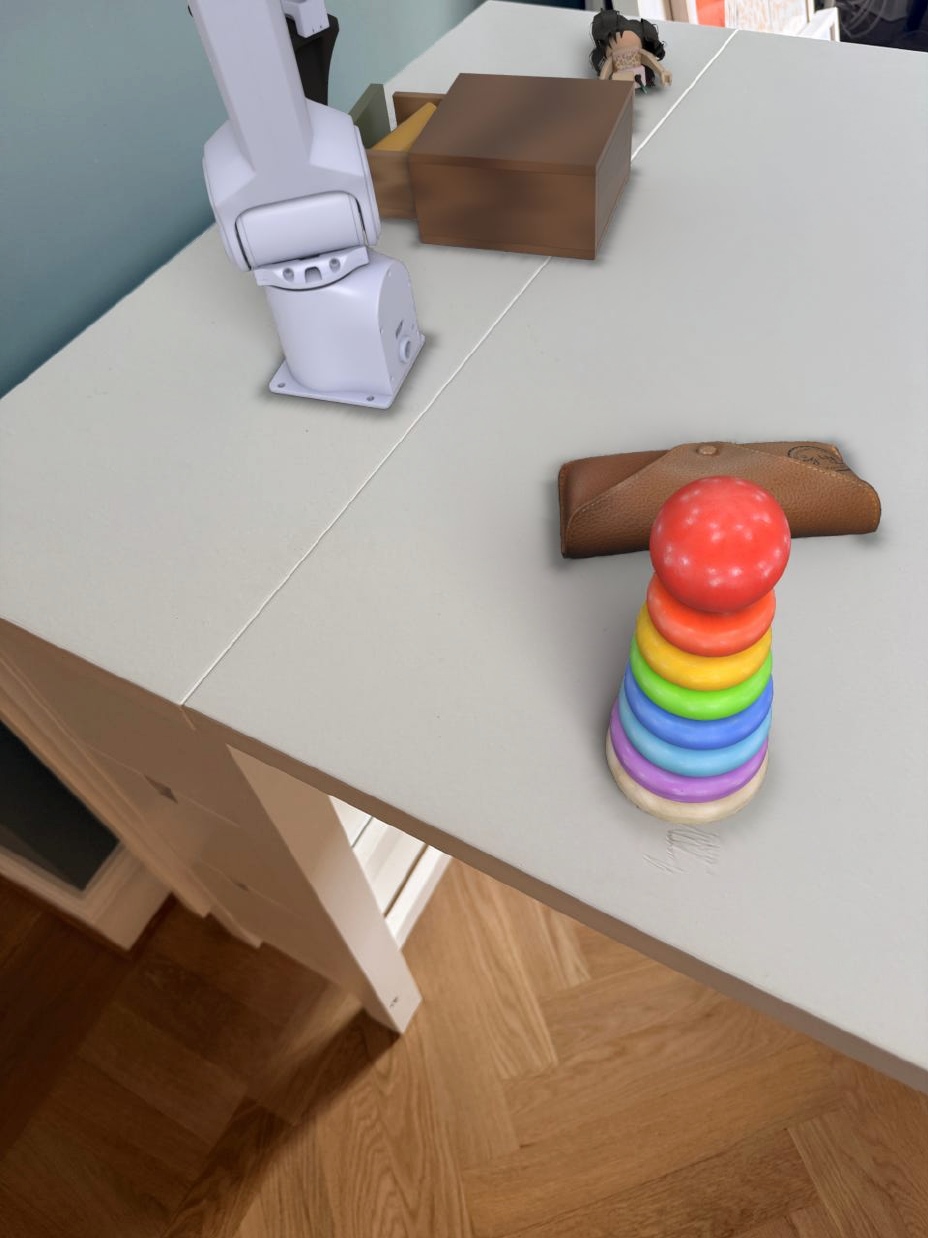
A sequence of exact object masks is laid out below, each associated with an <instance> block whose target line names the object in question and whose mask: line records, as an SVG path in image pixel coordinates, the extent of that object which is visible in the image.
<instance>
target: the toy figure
mask: <svg viewBox="0 0 928 1238" xmlns="http://www.w3.org/2000/svg"><path fill="white" fill-rule="evenodd" d="M599 9H600V11H599V12H598V13H597V14H595V15H594V16H593V19H592V21H591V23H590V25H589V27H591V30H589V37H590V39H591V41H592V44H593V46H594V47H593V50H592V51H591V52H590V54H589V55H588V58H591V59H588V61H589V64H590V65H591V69H594V70H595V72H596V77H598V79H606V80H628V81H634V100H633V114H635V113H634V112H635V98H636V89H640V88H641V90H642V91H643V92H644V94H646V95H647V93H648V89H647V88H646V86H648V87H649V88H652V87H657V85H656V84H655V82H654V81H655V79H656V75H657V76H658V77H660V81H659V82H660V83H659V84H660V85H661V87H662V88H664V87H665V83H667V85H668V87H669V88H671V86H672V83H673V82H672V81H673V74H672V72H671V71H670V70H665V68H664V66H663V65H662V64H661V63H660V62H661V61H663V60H664V59H665V57H666V50H665V48H666V47H667V45H668V44H667V43H665V41H664V40H660V38H659V37H660V36H659V31H658V30H659V26H658V25H657V24H656V23H651V22H650V21H649V20H647V19H645V18H643V17H641V18H640V20H639V19H634V18H633V19H632V18H631V19H628V18H627V17H625V16H624V15H623V14H620V10H616V9H604V8H603V7H600V8H599ZM657 58H658V59H657ZM603 62H604V63H603ZM601 66H602V67H601ZM610 76H611V77H610ZM609 78H611V79H609ZM633 129H634V125H632V130H633Z"/></svg>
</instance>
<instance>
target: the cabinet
mask: <svg viewBox="0 0 928 1238" xmlns="http://www.w3.org/2000/svg"><path fill="white" fill-rule="evenodd" d="M454 79H455V80H454V81H453V82H452V83H451V85H450V87H449V89H448V90H447V91H446V93H445V94H446V95H445V96H444V98H443V99H442V101H441V102H440V104H439V105H438V107H437V108H436V110H435V111H434V113H433V114H432V116H431V117H430V119H429V120H428V122H427V123H426V125H425V126H424V128H423V129H422V131H421V132H420V134H419V135H418V137H417V138H416V140H415V141H414V143H413V144H412V146H411V147H410V149H409V150H408V152H407V155H408V161H409V168H410V174H411V181H412V187H413V193H414V200H415V206H416V212H417V219H418V220H417V224H418V231H419V237H420V243H422V244H429V245H440V246H450V247H459V248H460V247H461V248H467V249H469V248H470V249H477V250H478V249H480V250H490V251H499V252H509V253H519V254H529V255H530V254H531V255H541V256H551V257H560V258H571V259H579V260H580V259H581V260H589V261H590V260H591V261H595V260H596V258H597V255H598V253H599V251H600V248H601V246H602V244H603V241H604V239H605V236H606V233H607V232H608V229H609V227H610V224H611V222H612V219H613V216H614V215H615V211H616V210H617V207H618V205H619V203H620V200H621V198H622V195H623V193H624V190H625V189H626V186H627V183H628V181H629V178H630V176H631V170H632V147H633V129H632V125H633V121H634V113H633V100H634V81H628V80H611V79H608V80H606V79H599V78H580V77H561V76H540V75H539V76H537V75H517V74H515V75H514V74H496V73H495V74H494V73H475V72H474V73H473V72H459V74H458V75H457V76H456V78H454ZM634 101H635V100H634ZM633 126H634V125H633Z"/></svg>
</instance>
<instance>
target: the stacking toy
mask: <svg viewBox="0 0 928 1238" xmlns="http://www.w3.org/2000/svg"><path fill="white" fill-rule="evenodd" d="M791 549H792V539H791V534H790V529H789V525H788V521H787V518H786V516H785V514H784V512H783V510H782V508H781V507H780V505H779V504H778V502H777V501H776V500H775V499H774V498H773V497H772V496H771V495H770V494H769V493H768V492H767V491H766V490H764V489H763V488H761V487H760V486H758V485H757V484H755V483H753V482H750V481H748V480H745V479H742V478H738V477H732V476H712V477H706V478H701V479H698V480H696V481H693V482H691V483H689V484H687V485H685V486H683V487H681V488H680V489H679V490H677V491H676V492H675V493H673V494H672V495H671V496H670V497H669V498H668V499H667V501H666V502H665V503H664V504H663V506H662V507H661V509H660V510H659V512H658V514H657V516H656V518H655V521H654V523H653V526H652V530H651V535H650V551H649V555H650V560H651V565H652V568H653V569H654V570H653V571H654V573H653V574H652V576H651V578H650V580H649V582H648V586H647V589H646V598H645V601H644V602H643V603H642V606H641V607H640V610H639V612H638V614H637V617H636V622H635V632H634V634H633V636H632V639H631V643H630V649H629V657H628V660H627V662H626V666H625V669H624V677H623V679H622V683H621V685H620V689H619V692H618V695H617V697H616V699H615V701H614V703H613V707H612V710H611V712H610V717H609V725H608V728H607V731H606V736H605V737H606V738H605V753H606V754H605V755H606V759H607V760H606V761H607V764H608V767H609V770H610V773H611V775H612V777H613V779H614V781H615V783H616V784H617V786H618V788H619V789H620V790H621V792H622V794H624V795H625V797H626V798H627V799H628V800H629V801H631V803H633V804H634V805H635V806H636V807H638V808H639V809H640V810H642V811H643V812H644V813H647V814H648V815H651V816H653V817H655V818H658V819H660V820H663V821H666V822H670V823H675V824H682V825H704V824H710V823H715V822H719V821H721V820H725V819H726V818H728V817H731V816H733V815H734V814H736V813H738V812H739V811H740V810H741V809H743V808H744V807H746V805H748V804H749V803H750V802H751V801H752V799H754V798H755V796H756V795H757V793H759V791H760V789H761V788H762V786H763V784H764V781H765V779H766V777H767V772H768V769H769V762H770V748H769V734H770V733H769V732H770V729H771V725H772V720H773V705H772V704H773V699H774V679H773V675H772V670H773V653H772V648H771V647H772V642H773V631H772V630H773V629H772V624H773V621H774V618H775V614H776V610H777V609H776V608H777V598H776V593H775V592H776V591H775V589H774V588H775V587H776V585H777V584H778V583H779V581H780V580H781V579H782V577H783V575H784V572H785V570H786V568H787V567H788V563H789V560H790V555H791Z"/></svg>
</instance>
